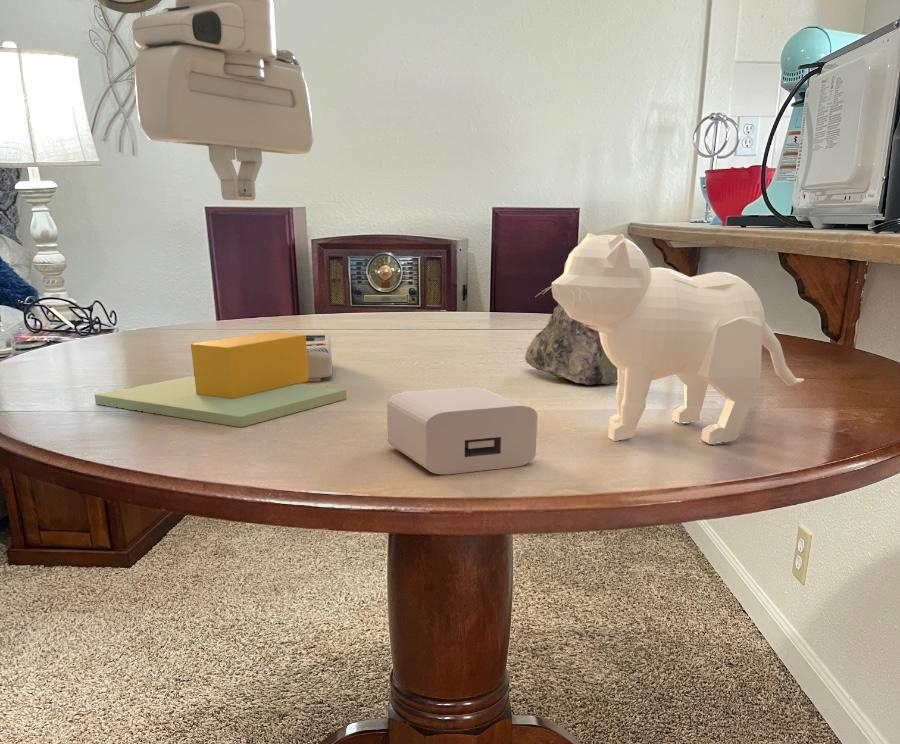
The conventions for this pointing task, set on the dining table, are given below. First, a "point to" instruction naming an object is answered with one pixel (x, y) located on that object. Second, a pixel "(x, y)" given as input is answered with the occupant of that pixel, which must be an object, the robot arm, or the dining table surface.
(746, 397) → the cat figurine
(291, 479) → the dining table surface
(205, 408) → the mat
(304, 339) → the block
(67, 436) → the dining table surface
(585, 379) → the mineral rock
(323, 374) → the handheld gaming device
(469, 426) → the charger
